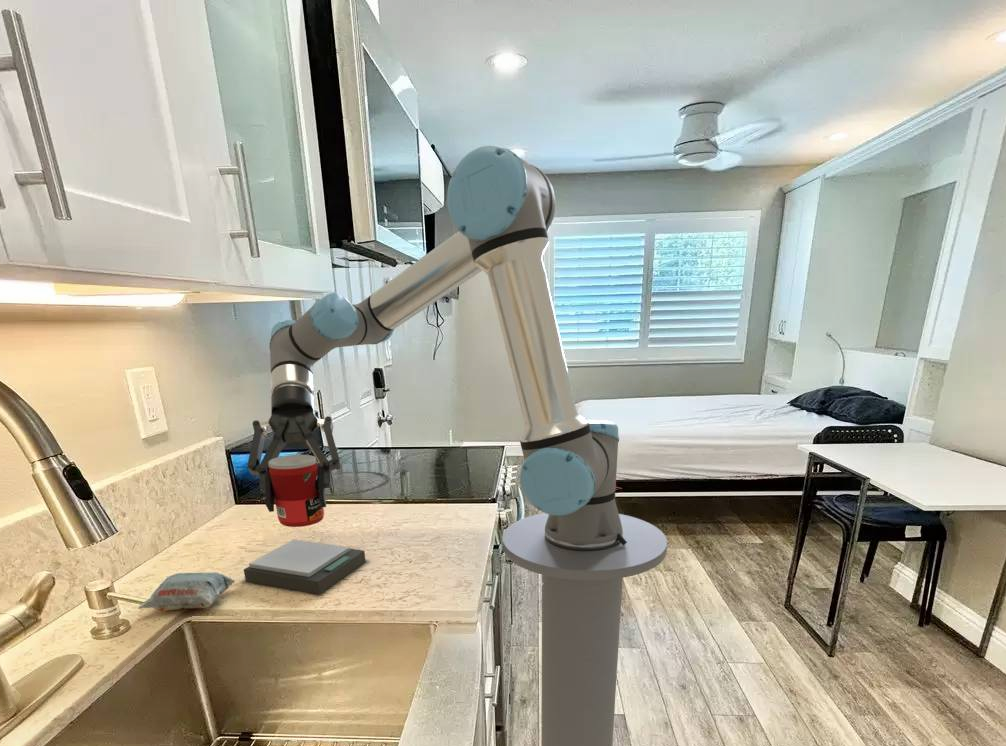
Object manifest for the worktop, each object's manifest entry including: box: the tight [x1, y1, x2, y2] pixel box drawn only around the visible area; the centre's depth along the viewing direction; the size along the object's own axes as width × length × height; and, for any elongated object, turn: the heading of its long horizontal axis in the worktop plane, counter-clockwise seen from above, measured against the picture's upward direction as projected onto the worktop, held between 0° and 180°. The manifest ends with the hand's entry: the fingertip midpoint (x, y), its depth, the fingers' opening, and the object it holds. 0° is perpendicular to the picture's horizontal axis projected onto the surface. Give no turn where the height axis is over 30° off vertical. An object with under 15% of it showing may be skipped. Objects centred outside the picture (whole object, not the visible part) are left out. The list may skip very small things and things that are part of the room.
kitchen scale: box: [243, 539, 367, 595], centre depth 104 cm, size 16×14×3 cm
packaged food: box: [137, 571, 235, 611], centre depth 93 cm, size 9×12×5 cm
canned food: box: [268, 454, 325, 528], centre depth 99 cm, size 8×8×11 cm
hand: (296, 505), depth 97 cm, fingers closed on canned food, 8 cm apart
